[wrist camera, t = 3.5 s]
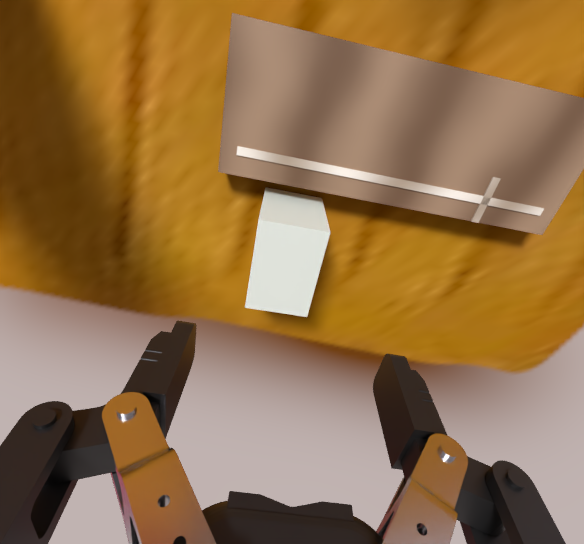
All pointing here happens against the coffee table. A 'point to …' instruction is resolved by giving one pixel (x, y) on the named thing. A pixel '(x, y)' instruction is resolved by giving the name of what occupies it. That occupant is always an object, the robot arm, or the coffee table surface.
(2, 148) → the coffee table surface
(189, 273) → the coffee table surface
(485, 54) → the coffee table surface
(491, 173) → the bronze metal plate
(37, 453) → the robot arm
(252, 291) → the block
